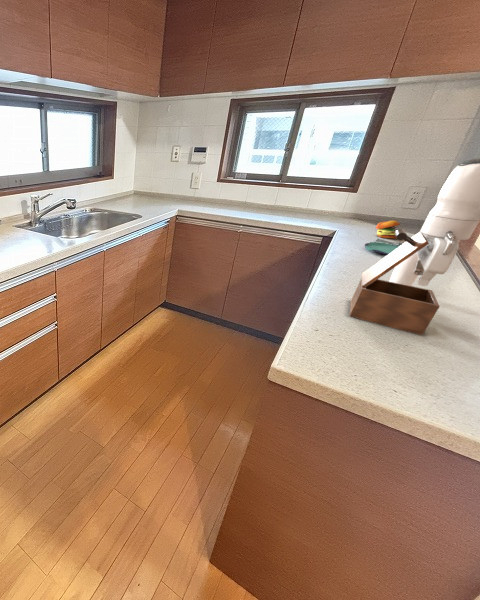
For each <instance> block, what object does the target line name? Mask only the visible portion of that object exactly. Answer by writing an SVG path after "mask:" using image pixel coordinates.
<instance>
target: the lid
mask: <svg viewBox="0 0 480 600" xmlns="http://www.w3.org/2000/svg"><path fill="white" fill-rule="evenodd" d="M397 229H398V230H396V231H395V235H396V238H397V239H398V241H405V242H403V244H402V245H401V246H399V247H398V248H396V249H395V250H394V251H392V252H391V253H390V254H388V255H387V254H386V255H385V256H384V257H382V258H381V259H380V260H378V261H377V262H376V263H375V264H372V265H371V266H370V267H369V268H368V269H366V270H365V271H364V272H362V273H361V278H362V287H363V288H366V287H367V286H368V285H370V284H371V283H373V282H374V281H376V280H377V279H380V278H382V277H383V276H384V275H386V274H388V272H390V271H391V270H394V267H396V266H397V265H399V264H400V263H402V262H403V261H405V260H406V259H407V258H409V257H410V256H412V255H413V254H415V253H416V252H418V251H419V250H420V249H422V248H423V247H425V246H426V245H428V244H429V242H428V241H427V239H426V238H425V237H424V235H423V233H421V232H420V231H419V232H417V233H416V234H414V235H413V236H412V237H410V236H409V235H408V234H407V232H406V230H405V229H403V228H397ZM397 239H396V240H397Z"/></svg>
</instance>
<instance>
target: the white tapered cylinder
mask: <svg viewBox="0 0 480 600" xmlns="http://www.w3.org/2000/svg"><path fill="white" fill-rule="evenodd" d="M418 259H419V258H418V256H417V254H416V253H415V254H413V255H412V256H410V257H409V258H407V259H406V260H405V261H403V262H402V263H400V264H399V265H397V266H396V267H394V268H393V269H392V270H393V271H392V273H391V276H390V278H389V280H388V281H389V282H394V283H399V284H404V285H409V286H413V284H414V283H415V281H417V278H418V277H419V275H415V274H414V270H415V268H416V265H417V261H418Z"/></svg>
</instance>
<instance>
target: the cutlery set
mask: <svg viewBox="0 0 480 600" xmlns="http://www.w3.org/2000/svg"><path fill="white" fill-rule="evenodd" d="M403 243H404V242H403ZM403 243H402V242H394V241H390V240H389V241H388V240H385V239H382V238H376V239H375V241H370V242H366V243H364V247H365V250H367V251H370V252H375V253H378V254H382V255H386V256H387V255H388V254H390V253H391V252H392V251H394V250H395V249H396V248H398V247H399V246H401V245H402V244H403Z"/></svg>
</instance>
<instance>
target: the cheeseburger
mask: <svg viewBox="0 0 480 600" xmlns="http://www.w3.org/2000/svg"><path fill="white" fill-rule="evenodd" d="M400 225H401V224H400V222H398V221H397V220H396V219H395V220H388V221H380V222H379V223H377V225H376V226H375V229H377V232H376V236H377V237H379V238H380V239H393V240H398V239H397V238H396V235H395V231H396V230H398V229H399V228H397V226H400ZM398 241H399V240H398Z"/></svg>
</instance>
